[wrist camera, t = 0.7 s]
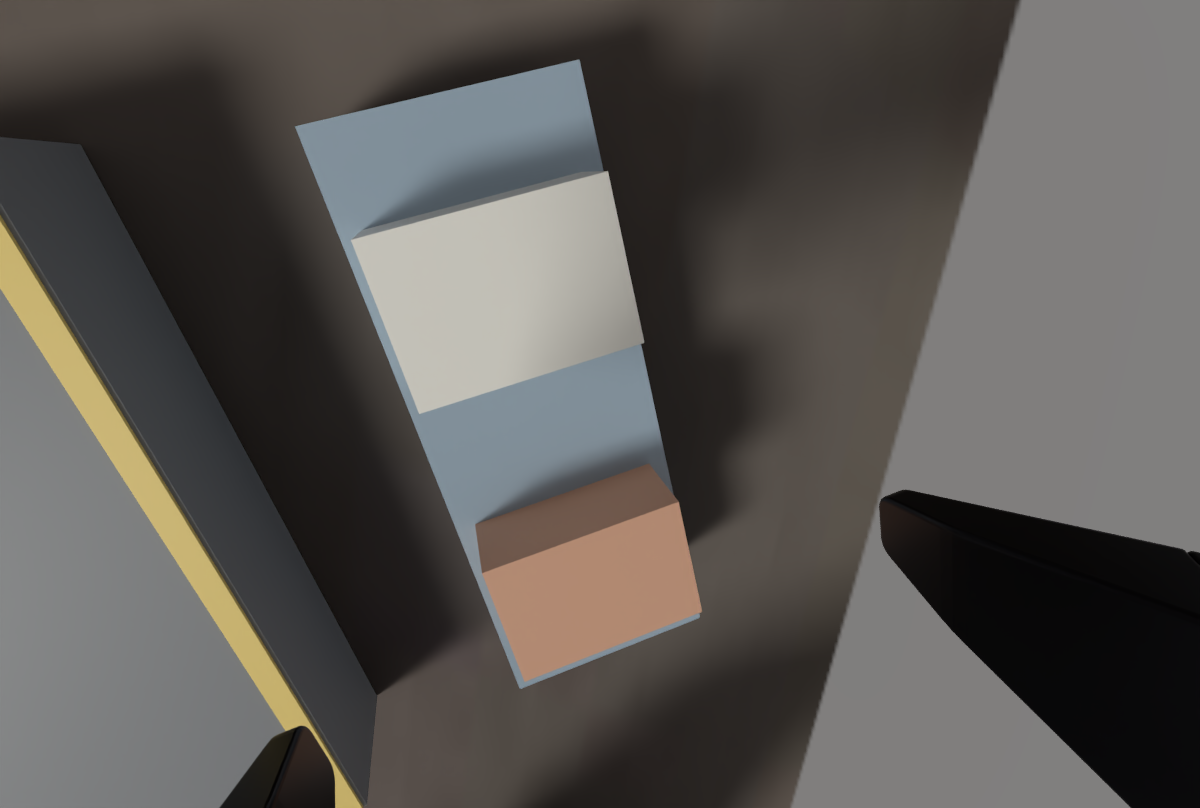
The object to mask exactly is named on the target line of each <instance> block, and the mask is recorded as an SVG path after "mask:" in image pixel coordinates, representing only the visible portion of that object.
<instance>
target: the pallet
mask: <svg viewBox="0 0 1200 808" xmlns="http://www.w3.org/2000/svg"><path fill="white" fill-rule="evenodd" d="M295 128H296V130H297V133H298V135H299V138H300V140H301V143H302V145H303V148H304V150H305V153H306V155H307V158H308V160H309V163H310V165H311V168H312V170H313V173H314V175H315V178H316V180H317V183H318V185H319V188H320V190H321V193H322V195H323V198H324V200H325V203H326V205H327V208H328V210H329V213H330V215H331V218H332V220H333V223H334V225H335V228H336V230H337V233H338V235H339V238H340V240H341V243H342V245H343V248H344V250H345V253H346V255H347V258H348V260H349V263H350V265H351V268H352V270H353V273H354V275H355V278H356V280H357V283H358V285H359V288H360V290H361V293H362V295H363V298H364V300H365V303H366V305H367V308H368V310H369V313H370V315H371V318H372V320H373V323H374V325H375V328H376V330H377V333H378V335H379V338H380V340H381V343H382V345H383V348H384V350H385V353H386V355H387V358H388V360H389V363H390V365H391V368H392V370H393V373H394V375H395V378H396V380H397V383H398V385H399V388H400V390H401V393H402V395H403V398H404V400H405V403H406V405H407V408H408V410H409V413H410V415H411V418H412V420H413V423H414V425H415V428H416V430H417V433H418V435H419V438H420V440H421V443H422V445H423V448H424V450H425V453H426V455H427V458H428V460H429V463H430V465H431V468H432V470H433V473H434V475H435V478H436V480H437V483H438V485H439V488H440V490H441V493H442V495H443V498H444V500H445V503H446V505H447V508H448V510H449V513H450V515H451V518H452V520H453V523H454V525H455V528H456V530H457V533H458V535H459V538H460V540H461V543H462V545H463V548H464V550H465V553H466V555H467V558H468V560H469V563H470V565H471V568H472V570H473V573H474V575H475V578H476V580H477V583H478V585H479V588H480V590H481V593H482V595H483V598H484V600H485V603H486V605H487V608H488V610H489V613H490V615H491V618H492V620H493V623H494V625H495V628H496V630H497V633H498V635H499V638H500V640H501V643H502V645H503V648H504V650H505V653H506V655H507V658H508V660H509V663H510V665H511V668H512V670H513V673H514V675H515V678H516V680H517V683H518V685H519V688H520V689H521V688H524V687H526V686H529V685H531V684H534V683H537V682H539V681H542V680H544V679H547V678H549V677H552V676H554V675H557V674H559V673H562V672H564V671H567V670H569V669H572V668H574V667H577V666H579V665H582V664H584V663H587V662H589V661H592V660H594V659H597V658H599V657H602V656H605V655H607V654H610V653H612V652H615V651H617V650H620V649H622V648H625V647H627V646H630V645H632V644H635V643H637V642H640V641H642V640H645V639H647V638H650V637H652V636H655V635H657V634H660V633H662V632H665V631H668V630H670V629H673V628H675V627H678V626H680V625H683V624H685V623H688V622H690V621H693V620H695V619H698V618H700V615H699V613H698V614H695V615H693V616H690V617H688V618H685V619H682V620H680V621H677V622H675V623H672V624H670V625H667V626H665V627H662V628H660V629H657V630H655V631H652V632H650V633H647V634H645V635H642V636H640V637H637V638H634V639H632V640H629V641H627V642H624V643H622V644H619V645H617V646H614V647H612V648H609V649H607V650H604V651H602V652H599V653H597V654H594V655H591V656H589V657H586V658H584V659H581V660H579V661H576V662H574V663H571V664H569V665H566V666H564V667H561V668H559V669H556V670H554V671H551V672H548V673H546V674H543V675H541V676H538V677H536V678H533V679H531V680H528V681H526V682H524V679H523V677H522V674H521V671H520V669H519V666H518V664H517V661H516V659H515V656H514V654H513V651H512V649H511V646H510V643H509V641H508V638H507V636H506V633H505V631H504V628H503V626H502V623H501V621H500V618H499V615H498V613H497V610H496V608H495V605H494V603H493V600H492V598H491V595H490V593H489V590H488V587H487V585H486V582H485V580H484V577H483V575H482V570H481V563H480V556H479V549H478V542H477V535H476V528H475V524H477V523H480V522H483V521H486V520H489V519H492V518H495V517H497V516H500V515H503V514H506V513H509V512H512V511H515V510H517V509H520V508H523V507H526V506H529V505H532V504H535V503H537V502H540V501H543V500H546V499H549V498H552V497H555V496H557V495H560V494H563V493H566V492H569V491H572V490H575V489H577V488H580V487H583V486H586V485H589V484H592V483H595V482H597V481H600V480H603V479H606V478H609V477H612V476H615V475H618V474H620V473H623V472H626V471H629V470H632V469H635V468H638V467H640V466H643V465H646V464H650V465H651V467H652V468H653V469H654V471H655V472H656V473H657V474H658V476H659V477H660V478H661V480H662V481H663V482H664V484H665V485H666V486H667V487H668V489H669V490H670V491H671V493H672V494H673V490H672V485H671V481H670V476H669V471H668V467H667V462H666V457H665V453H664V448H663V444H662V439H661V434H660V430H659V425H658V420H657V416H656V411H655V407H654V402H653V397H652V393H651V388H650V383H649V379H648V374H647V370H646V365H645V360H644V356H643V351H642V346H641V344H639V345H636V346H633V347H630V348H626V349H623V350H620V351H617V352H614V353H611V354H607V355H604V356H601V357H598V358H595V359H592V360H589V361H585V362H582V363H579V364H576V365H573V366H570V367H566V368H563V369H560V370H557V371H554V372H551V373H547V374H544V375H541V376H538V377H535V378H532V379H529V380H525V381H522V382H519V383H516V384H513V385H510V386H506V387H503V388H500V389H497V390H494V391H491V392H487V393H484V394H481V395H478V396H475V397H472V398H468V399H465V400H462V401H459V402H456V403H453V404H450V405H446V406H443V407H440V408H437V409H434V410H431V411H427V412H424V413H421V414H419V412H418V410H417V407H416V405H415V402H414V400H413V397H412V394H411V392H410V389H409V387H408V384H407V382H406V379H405V377H404V374H403V372H402V369H401V367H400V364H399V361H398V359H397V356H396V354H395V351H394V349H393V346H392V344H391V341H390V339H389V336H388V333H387V331H386V328H385V326H384V323H383V321H382V318H381V316H380V313H379V311H378V308H377V305H376V303H375V300H374V298H373V295H372V293H371V290H370V288H369V285H368V283H367V280H366V277H365V275H364V272H363V270H362V267H361V265H360V262H359V260H358V257H357V255H356V252H355V249H354V247H353V244H352V242H351V239H352V238H354V237H355V236H356V235H357V234H358V233H359V232H361V231H362V230H364V229H368V228H372V227H376V226H379V225H383V224H387V223H391V222H394V221H398V220H402V219H406V218H410V217H413V216H417V215H421V214H425V213H428V212H432V211H436V210H440V209H443V208H447V207H451V206H455V205H458V204H462V203H466V202H470V201H473V200H477V199H481V198H485V197H488V196H492V195H496V194H500V193H504V192H507V191H511V190H515V189H519V188H522V187H526V186H530V185H534V184H537V183H541V182H545V181H549V180H552V179H556V178H560V177H564V176H567V175H571V174H575V173H579V172H591V171H603V166H602V161H601V157H600V152H599V148H598V143H597V138H596V134H595V129H594V124H593V120H592V115H591V111H590V106H589V101H588V97H587V92H586V87H585V83H584V78H583V74H582V69H581V64H580V60H575V61H570V62H566V63H562V64H558V65H553V66H549V67H545V68H541V69H537V70H532V71H528V72H524V73H520V74H515V75H511V76H507V77H503V78H498V79H494V80H490V81H486V82H481V83H477V84H473V85H469V86H465V87H460V88H456V89H452V90H448V91H443V92H439V93H435V94H431V95H426V96H422V97H418V98H414V99H409V100H405V101H401V102H397V103H393V104H388V105H384V106H380V107H376V108H371V109H367V110H363V111H359V112H354V113H350V114H346V115H342V116H337V117H333V118H329V119H325V120H320V121H316V122H312V123H308V124H304V125H299V126H295ZM673 495H674V494H673Z"/></svg>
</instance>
